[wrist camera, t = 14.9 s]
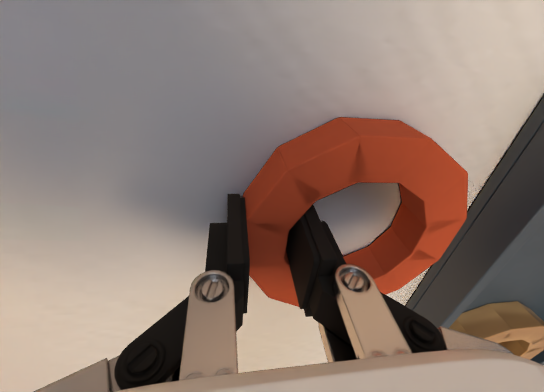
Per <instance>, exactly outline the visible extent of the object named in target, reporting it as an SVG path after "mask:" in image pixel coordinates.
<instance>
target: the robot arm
mask: <svg viewBox="0 0 544 392" xmlns="http://www.w3.org/2000/svg"><path fill="white" fill-rule="evenodd" d="M286 252H287V257H288V261H289V265H290V271H291V275H292V279H293V283H294V287H295V291H296V295H297V299H298V304H299V307H300V309H304V311H305V315H306V317H308V316H313V319H315V320H316V321H317V322H318V325H319V330H320V334H321V338H322V341H323V345H324V349H325V353H326V356H327V360H328V363H321V364H313V365H304V366H295V367H287V368H278V369H269V370H261V371H253V372H244V373H238V363H237V341H236V331H237V330H238V329H239V328H240V327H241V326H242V322H243V313H247V302H248V287H249V272H250V255H249V243H248V232H247V220H246V208H245V197H240V194H228V217H227V223H210V228H209V238H208V248H207V258H206V268H205V272H204V273H202V274H200V275H199V276H197V277H196V278H195V279H194V281H193V282H192V284H191V287H190V293H189V296H188V297H187V298H186V299H185V300H183V301H182V302H181V303H180V304H178V305H177V306H176V307H175V308H173V309H172V310H171V311H170V312H168V313H167V314H166V315H165V316H164V317H162V318H161V319H160V320H159V321H157V322H156V323H155V324H154V325H152V326H151V327H150V328H149V329H147V330H146V331H145V332H144V333H143V334H141V335H140V336H139V337H138V338H136V339H135V340H134V341H133V342H131V343H130V344H129V345H128V346H127V347H126V348H125V349H124V350H123V351H122V353H121V354H120V355H119V356H117V357H115V358H113V359H111V360H109V361H108V359H107V358H105V359H103V360H101V361H99V362H97V363H95V364H92V365H90V366H88V367H86V368H84V369H82V370H79V371H77V372H75V373H73V374H71V375H69V376H66V377H64V378H62V379H60V380H58V381H56V382H53V383H51V384H49V385H47V386H45V387H43V388H40V389H38V390H36V391H34V392H544V366H543V365H541V364H539V363H537V362H534V361H532V360H529V359H526V358H523V357H519V356H516V355H514V354H513V353H512V352H511V351H510V350H508V349H507V348H505V347H504V346H502V345H500V344H498V343H496V342H493V341H489V340H486V339H483V338H479V337H476V336H473V335H469V334H466V333H463V332H459V331H456V330H453V329H449V328H446V327H443V326H440V327H439V328H437V327H436V326H435V325H434V324H433V323H432V322H430V321H429V320H427V319H426V318H425V317H423V316H421V315H419V314H418V313H416V312H414V311H413V310H411V309H409V308H407V307H406V306H404V305H402V304H400V303H399V302H397V301H395V300H393V299H392V298H390V297H388V296H387V295H385V294H383V293H381V292H380V291H379V289H378V287H377V285H376V283H375V281H374V280H373V278H372V276H371V275H370V274H369V273H368V272H367V271H366V270H365V269H363V268H361V267H360V266H357V265H354V264H346V262H345V260H344V258H343V256H342V254H341V252H340V249H339V247H338V245H337V243H336V241H335V239H334V237H333V235H332V233H331V231H330V229H329V227H328V225H327V223H326V222H325V221H320V219H319V217H318V215H317V212H316V210H315V208H314V206H313V205H312V206H311V207H310V208H309V209H308V210H307V211H306V212H305V214H304V215H303V216H302V217H301V218H300V219H299V220H298V221H297V222H296V224H295V225H294V226H293V227H292V228H291V229H290V230H289V234H288V240H287V246H286Z"/></svg>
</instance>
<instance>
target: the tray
mask: <svg viewBox="0 0 544 392" xmlns="http://www.w3.org/2000/svg"><path fill="white" fill-rule="evenodd" d="M514 301H518V302H519V303H521V304H523V305H525V306H526V307H528V308H530V309H531V310H532V311H533V312H534V313H535V314H536V315H537V316H538V317H539V318H540V319H542V320H543V321H544V97H543V98H542V100H541V101H540V103H539V104H538V106H537V107H536V109H535V110H534V112H533V113H532V115H531V116H530V118H529V119H528V121H527V123H526V124H525V126H524V127H523V129H522V130H521V132H520V133H519V135H518V136H517V138H516V139H515V141H514V142H513V144H512V145H511V147H510V148H509V150H508V151H507V153H506V154H505V156H504V157H503V159H502V161H501V162H500V164H499V165H498V167H497V168H496V170H495V171H494V173H493V174H492V176H491V177H490V179H489V180H488V182H487V183H486V185H485V186H484V188H483V189H482V191H481V192H480V194H479V195H478V197H477V198H476V200H475V202H474V203H473V205H472V206H471V208H470V209H469V211H468V212H467V218H466V220H465V222H464V223H463V225H462V226H461V228H460V229H459V231H458V232H457V234H456V235H455V237H454V238H453V240H452V241H451V243H450V244H449V246H448V247H447V249H446V250H445V252H444V253H443V255H442V256H441V258H440V259H439V260H438V261H437V262H435V263H434V264H433V265H432V267H431V268H430V270H429V271H428V273H427V274H426V276H425V277H424V279H423V280H422V282H421V284H420V285H419V287H418V288H417V290H416V291H415V293H414V294H413V296H412V297H411V299H410V300H409V302H408V303H407V305H406V307H407V308H409V309H411V310H413V311H414V312H416V313H418V314H419V315H421V316H423V317H425V318H426V319H427V320H429V321H430V322H432V323H433V324H434V325H435V326H436V327H437V328H439V327H440V326H443V327H446V328H449V327H450V326H451V325H452V324H453V323H454V322H455V320H456V319H457V318H458V317H459V316H460V315H461V314H462V313H463V312H466V311H469V310H472V309H475V308H478V307H481V306H483V305H486V304H490V303H502V302H514ZM530 360H532V361H534V362H537V363H539V364H541V365H543V366H544V350H543V351H541V352H540V353H539V354H537V355H536V356H534V357H533V358H532V359H530Z"/></svg>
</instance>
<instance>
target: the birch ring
mask: <svg viewBox="0 0 544 392" xmlns="http://www.w3.org/2000/svg"><path fill="white" fill-rule="evenodd" d="M449 329H453V330H456V331H459V332H463V333H466V334H469V335H473V336H476V337H479V338H483V339H486V340H489V341H493V342H496V343H498V344H500V345H502V346H504V347H505V348H507V349H508V350H510V351H511V352H512V353H513V354H514V355H516V356H519V357H523V358H526V359H529V360H530V359H532V358H533V357H534V356H536V355H537V354H539V353H540V352H541V351H543V350H544V321H543V320H542V319H540V318H539V317H538V316H537V315H536V314H535V313H534V312H533V311H532V310H531V309H530V308H528V307H526V306H525V305H523V304H521V303H519V302H518V301H514V302H502V303H490V304H486V305H483V306H481V307H478V308H475V309H472V310H469V311H466V312H463V313H462V314H461V315H460V316H459V317H458V318H457V319H456V320H455V322H454V323H453V324H452V325H451V326H450V327H449Z"/></svg>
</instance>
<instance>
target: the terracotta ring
mask: <svg viewBox="0 0 544 392" xmlns="http://www.w3.org/2000/svg"><path fill="white" fill-rule="evenodd" d="M358 182H362V183H399V188H400V193H401V199H402V203H401V205H400V207H399V210H398V212H397V214H396V216H395V218H394V220H393V223H392V225H391V227H390V228H389V229H388V230H386V231H385V232H384V233H383V234H382V235H381V236H380V237H378V238H377V239H376V240H375V241H374V242H373V243H372V244H370V245H369V246H368V247H366V248H363V249H361V250H358V251H356V252H353V253H351V254H349V255H346V256H344V257H343V258H344V260H345V262H346V264H354V265H357V266H360V267H361V268H363V269H365V270H366V271H367V272H368V273H369V274H370V275H371V276H372V278H373V280H374V281H375V283H376V285H377V287H378V289H379V291H380V292H381V293H383V294H388V293H391V292H393V291H396V290H398V289H400V288H401V287H403V286H404V285H406V284H407V283H408V282H410V281H411V280H412V279H414V278H415V277H416V276H418V275H419V274H420V273H422V272H423V271H425V270H426V269H427V268H429V267H430V266H431V265H433V264H434V263H435V262H437V261H438V260H439V259H440V258H441V256H442V255H443V253H444V252H445V250H446V249H447V247H448V246H449V244H450V243H451V241H452V240H453V238H454V237H455V235H456V234H457V232H458V231H459V229H460V228H461V226H462V225H463V223H464V222H465V220H466V218H467V191H468V173H467V171H465V170H464V169H463V168H462V167H461V166H460V165H459V164H458V163H457V162H456V161H455V160H454V159H453V158H452V157H451V156H449V155H448V154H447V153H446V152H445V151H444V150H443V149H442V148H441V147H440V146H439V145H438V144H437V143H436V142H434V141H433V140H432V139H431V138H430V137H428V136H426V135H424V134H423V133H421V132H419V131H417V130H416V129H414V128H412V127H410V126H409V125H407V124H405V123H403V122H402V121H399V120H383V119H364V118H346V117H339V118H336V119H334V120H332V121H330V122H328V123H326V124H324V125H322V126H320V127H318V128H316V129H313V130H311V131H309V132H307V133H305V134H303V135H301V136H299V137H297V138H295V139H293V140H291V141H289V142H287V143H285V144H283V145H281V146H279V147H278V148H276V150H275V151H274V153H273V154H272V155H271V157H270V158H269V159H268V161H267V162H266V163H265V165H264V166H263V168H262V169H261V170H260V172H259V173H258V174H257V176H256V177H255V179H254V180H253V181H252V183H251V184H250V185H249V187H248V188H247V189H246V191H245V192H244V194H243V197H245V208H246V220H247V232H248V243H249V255H250V272H249V275H250V277H251V278H252V279H253V280H254V281H255V282H256V284H257V285H258V286H259V287H260V288H261V289H262V291H263V292H264V293H265V294H266V295H267V296H268V297H269V298H272V299H275V300H278V301H282V302H285V303H288V304H292V305H295V306H298V307H299V304H298V299H297V295H296V291H295V287H294V283H293V279H292V275H291V271H290V265H289V261H288V257H287V252H286V246H287V240H288V234H289V230H290V229H291V228H292V227H293V226H294V225H295V224H296V222H297V221H298V220H299V219H300V218H301V217H302V216H303V215H304V214H305V212H306V211H307V210H308V209H309V208H310V207H311V206H312V205H313V204H314V203H315V201H317V200H319V199H322V198H324V197H326V196H328V195H331V194H333V193H335V192H337V191H340V190H342V189H344V188H346V187H349V186H351V185H353V184H355V183H358Z"/></svg>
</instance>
